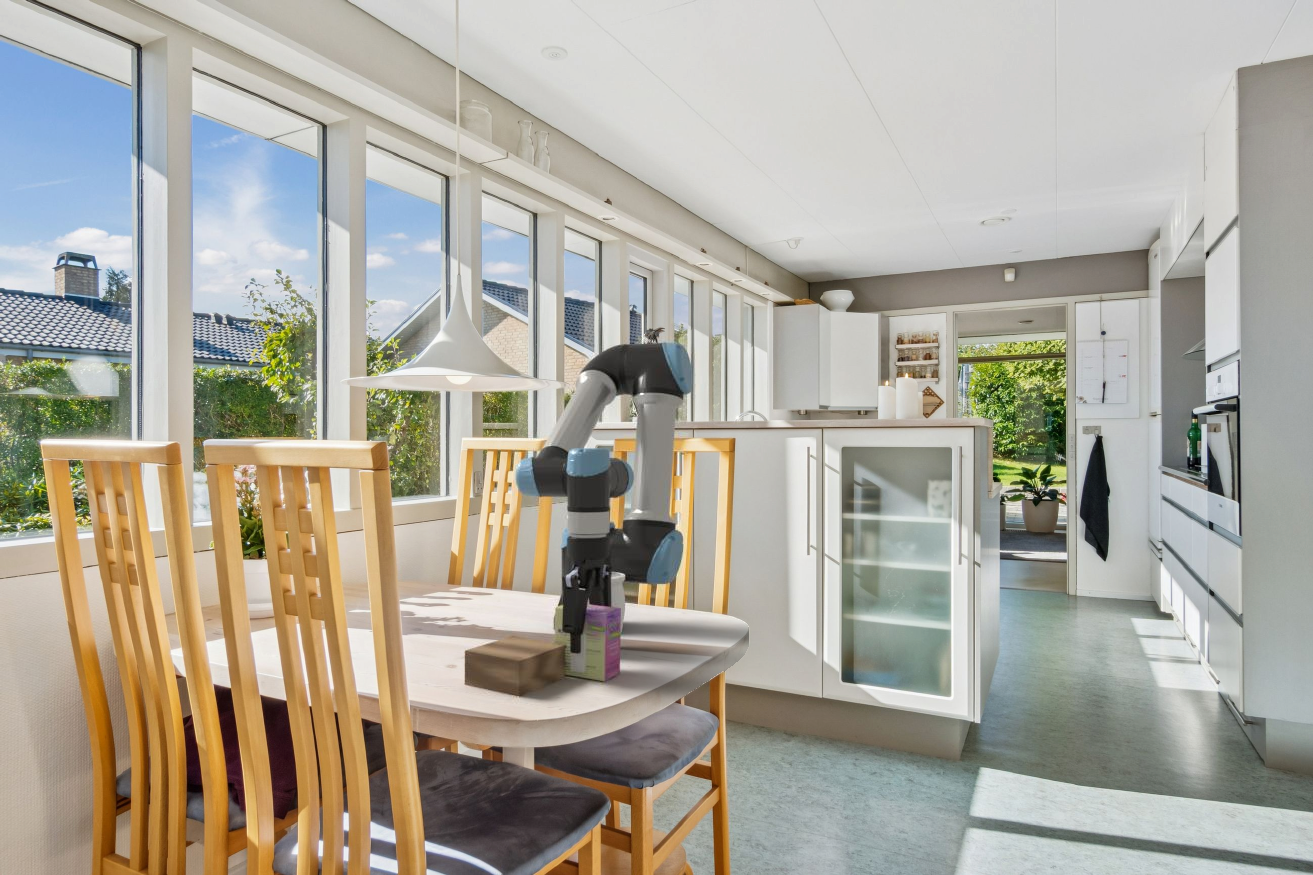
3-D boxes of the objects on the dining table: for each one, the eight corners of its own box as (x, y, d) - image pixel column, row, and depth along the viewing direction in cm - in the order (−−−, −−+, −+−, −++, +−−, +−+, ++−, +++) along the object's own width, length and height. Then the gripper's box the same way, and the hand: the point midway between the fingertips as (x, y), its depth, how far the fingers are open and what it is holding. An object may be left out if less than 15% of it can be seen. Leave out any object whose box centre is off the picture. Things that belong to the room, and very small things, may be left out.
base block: (512, 668, 141) (512, 635, 141) (564, 679, 135) (565, 644, 135) (464, 686, 131) (464, 650, 131) (518, 698, 125) (519, 660, 125)
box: (621, 673, 138) (621, 606, 138) (605, 682, 132) (605, 613, 133) (571, 665, 142) (571, 601, 142) (554, 674, 137) (554, 607, 137)
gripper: (596, 529, 148) (596, 651, 147) (540, 539, 131) (539, 677, 131) (631, 531, 144) (631, 656, 144) (578, 542, 128) (577, 683, 127)
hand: (587, 665), depth 137 cm, fingers closed on box, 6 cm apart
